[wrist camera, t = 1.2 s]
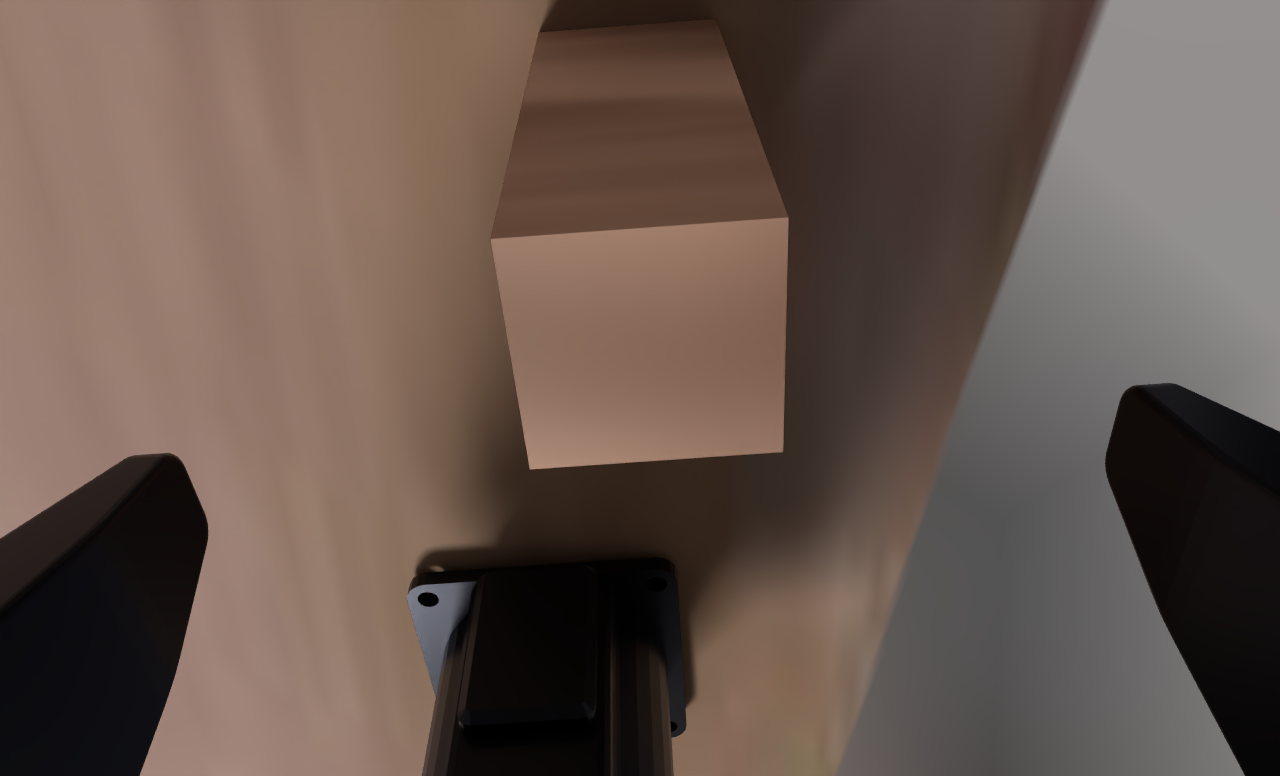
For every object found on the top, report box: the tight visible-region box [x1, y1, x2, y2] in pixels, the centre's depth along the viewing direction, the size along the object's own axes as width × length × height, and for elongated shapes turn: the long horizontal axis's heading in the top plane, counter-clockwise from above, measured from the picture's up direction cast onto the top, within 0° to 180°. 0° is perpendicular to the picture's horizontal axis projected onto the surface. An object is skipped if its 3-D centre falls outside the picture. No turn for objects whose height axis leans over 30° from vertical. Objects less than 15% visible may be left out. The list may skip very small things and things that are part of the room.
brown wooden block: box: [491, 19, 789, 469], centre depth 14 cm, size 3×3×8 cm
